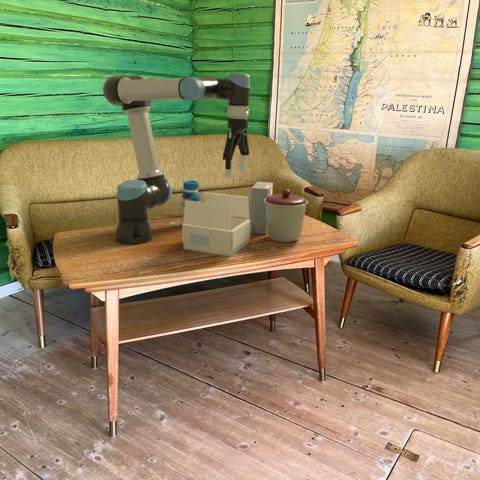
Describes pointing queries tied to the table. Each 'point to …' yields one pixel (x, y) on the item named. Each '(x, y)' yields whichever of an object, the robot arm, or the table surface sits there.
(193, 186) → the beverage bottle
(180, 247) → the table surface
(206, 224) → the flap near
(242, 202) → the flap far
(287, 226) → the canister
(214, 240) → the carton
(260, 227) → the hard drive box
